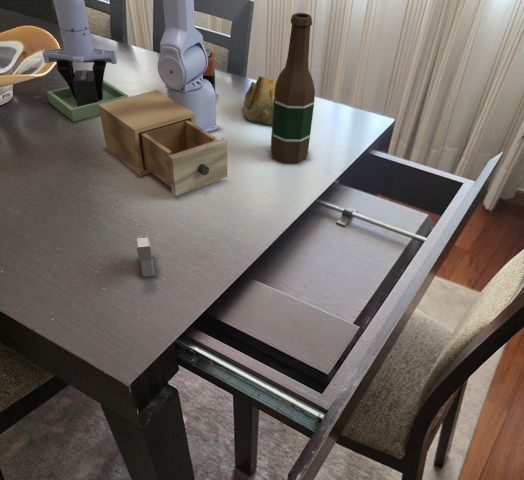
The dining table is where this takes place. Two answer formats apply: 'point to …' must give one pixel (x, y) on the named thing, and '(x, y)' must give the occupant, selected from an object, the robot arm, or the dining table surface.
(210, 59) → the battery
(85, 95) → the black rectangular block
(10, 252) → the dining table surface
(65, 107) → the tray
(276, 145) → the beer bottle
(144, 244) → the grey upright block
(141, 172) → the cabinet
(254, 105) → the pastry
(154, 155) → the drawer
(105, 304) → the dining table surface
